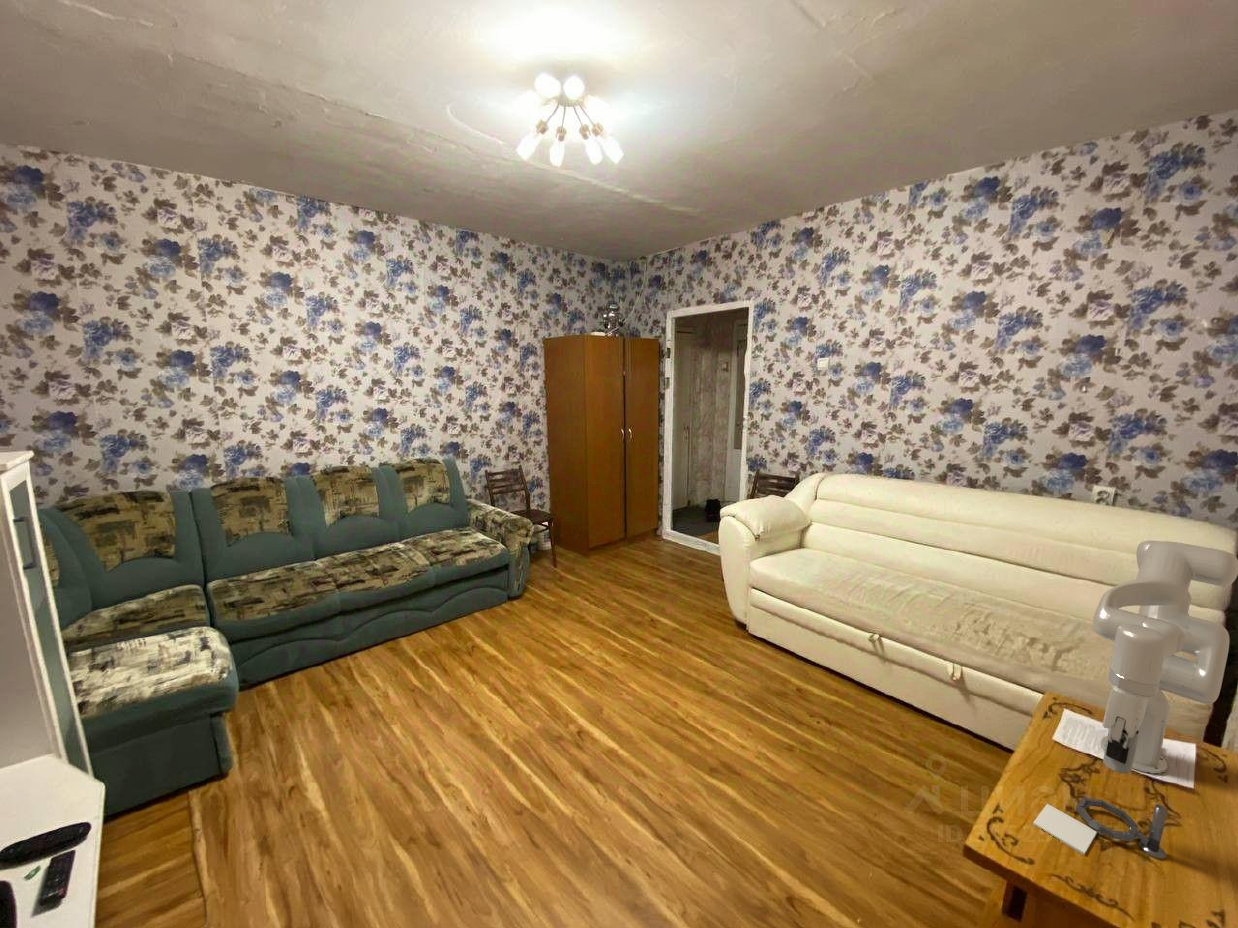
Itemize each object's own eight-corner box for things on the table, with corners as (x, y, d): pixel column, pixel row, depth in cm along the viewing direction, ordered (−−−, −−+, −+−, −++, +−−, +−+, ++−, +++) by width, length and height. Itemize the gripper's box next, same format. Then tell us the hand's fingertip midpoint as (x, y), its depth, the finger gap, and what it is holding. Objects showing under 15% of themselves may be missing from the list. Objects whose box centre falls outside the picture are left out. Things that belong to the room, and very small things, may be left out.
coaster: (1046, 805, 120) (1047, 803, 120) (1096, 833, 112) (1097, 831, 112) (1032, 824, 115) (1033, 822, 115) (1084, 855, 107) (1084, 852, 107)
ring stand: (1084, 800, 121) (1091, 761, 119) (1170, 845, 109) (1179, 803, 107) (1071, 820, 116) (1078, 779, 114) (1160, 870, 104) (1169, 826, 102)
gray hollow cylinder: (1136, 775, 109) (1144, 734, 107) (1112, 772, 110) (1120, 732, 108) (1120, 759, 113) (1128, 720, 111) (1097, 757, 114) (1104, 718, 112)
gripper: (1119, 660, 115) (1107, 728, 119) (1097, 686, 106) (1084, 760, 110) (1166, 676, 109) (1152, 747, 113) (1147, 705, 100) (1132, 783, 103)
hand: (1119, 753), depth 111 cm, fingers closed on gray hollow cylinder, 4 cm apart
